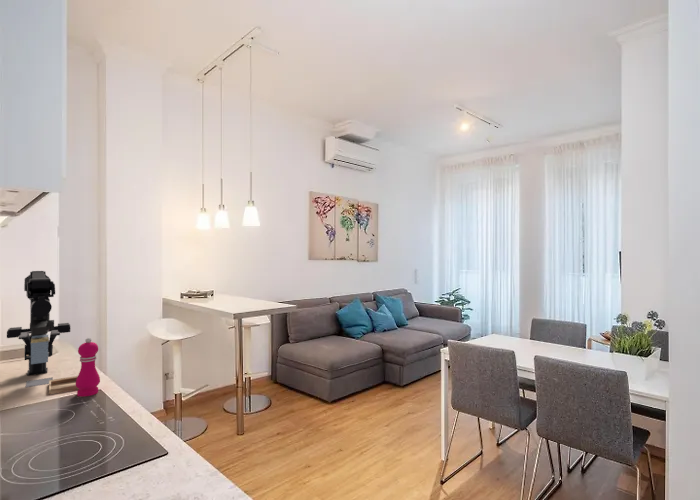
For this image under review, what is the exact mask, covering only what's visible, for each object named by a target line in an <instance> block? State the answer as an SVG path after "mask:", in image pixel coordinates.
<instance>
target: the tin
mask: <svg viewBox="0 0 700 500" xmlns="http://www.w3.org/2000/svg"><path fill="white" fill-rule="evenodd" d="M48 337H49V334H47V335H39V336H32V338H31V364H37V363H45V362H46V363H49V357H48Z"/></svg>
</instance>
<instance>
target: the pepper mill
mask: <svg viewBox="0 0 700 500" xmlns="http://www.w3.org/2000/svg"><path fill="white" fill-rule="evenodd" d="M77 349H78V350H77V352H78V355H79V356H80V357H79V362H80V364H81V365H80V371H79V372H78V375H77V376H78V377H77V379H76V387H77V388H78V389H79V390H76V395H77V397H81V398H82V397H90V396H94V395H96V394H98V393H99V387H98V386H99V384H100V383H101V377H100V375H99V372H98V371H97V368H96V360H97V359H98V358H97V357H98V355H97V354H98V352H99V346H98V344H97V343H96V342H93V341H92V338H90V337H87V338H86V339H85V342H83V343H82V344H80V345H79V347H78V348H77Z"/></svg>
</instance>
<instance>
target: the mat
mask: <svg viewBox="0 0 700 500" xmlns="http://www.w3.org/2000/svg"><path fill="white" fill-rule="evenodd" d="M49 380H54V378H53V377H47V378H39V379H32V380H27V381H26V382H25V387H24V388H31V387H37V386H43V385H49Z"/></svg>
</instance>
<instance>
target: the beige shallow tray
mask: <svg viewBox="0 0 700 500" xmlns="http://www.w3.org/2000/svg"><path fill="white" fill-rule="evenodd" d="M77 377H78V375H74V376H67V377H62V378H61V377H60V378H53V380H49V384H48V395H54V394H60V393H67V392H71V391H72V392H73V391H78V390H79V389H78V388H77V387H76V379H77Z"/></svg>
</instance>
